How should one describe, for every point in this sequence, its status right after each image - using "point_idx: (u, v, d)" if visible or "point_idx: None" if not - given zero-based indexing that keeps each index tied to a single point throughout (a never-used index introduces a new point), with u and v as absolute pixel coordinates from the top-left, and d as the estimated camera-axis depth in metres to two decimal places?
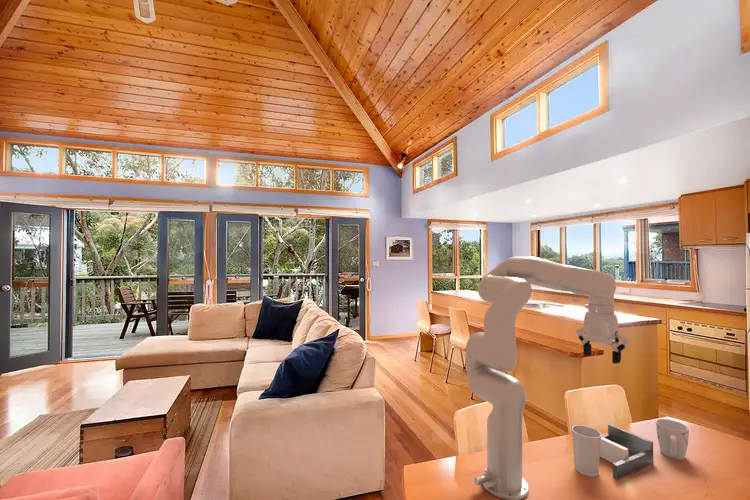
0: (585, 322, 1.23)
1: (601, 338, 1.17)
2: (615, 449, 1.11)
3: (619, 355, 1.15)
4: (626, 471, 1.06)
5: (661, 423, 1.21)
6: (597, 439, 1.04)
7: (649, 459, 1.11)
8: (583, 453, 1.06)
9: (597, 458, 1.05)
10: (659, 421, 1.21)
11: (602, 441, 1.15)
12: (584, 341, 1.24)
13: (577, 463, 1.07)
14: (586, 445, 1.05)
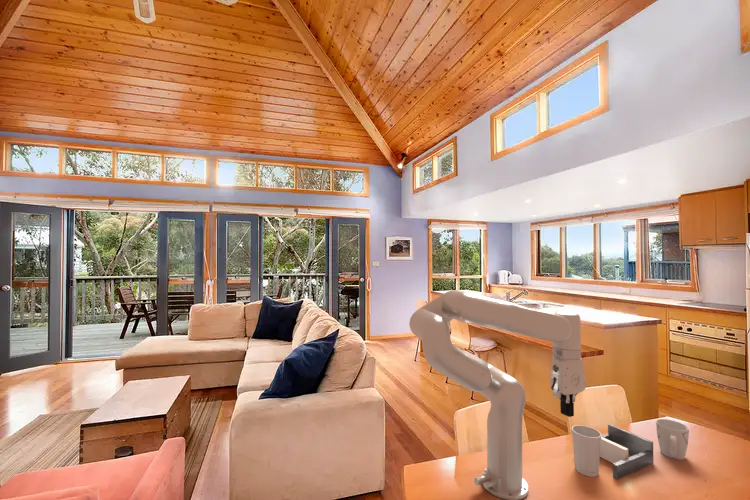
0: (566, 374, 1.01)
1: (579, 386, 1.03)
2: (615, 449, 1.11)
3: None
4: (626, 471, 1.06)
5: (661, 423, 1.21)
6: (597, 439, 1.04)
7: (649, 459, 1.11)
8: (583, 453, 1.06)
9: (597, 458, 1.05)
10: (659, 421, 1.21)
11: (602, 441, 1.15)
12: (568, 399, 1.03)
13: (577, 463, 1.07)
14: (586, 445, 1.05)
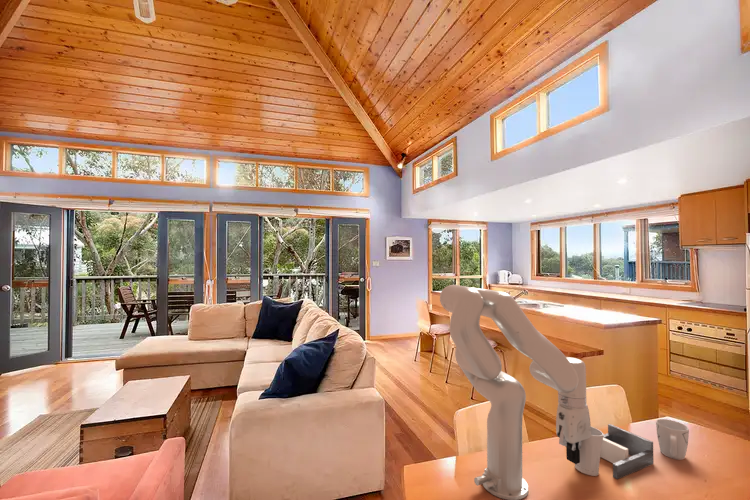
0: (571, 422, 1.02)
1: (585, 434, 1.04)
2: (615, 449, 1.11)
3: None
4: (626, 471, 1.06)
5: (661, 423, 1.21)
6: (599, 437, 1.05)
7: (649, 459, 1.11)
8: (584, 451, 1.06)
9: (598, 457, 1.05)
10: (659, 421, 1.21)
11: (602, 441, 1.15)
12: (574, 446, 1.04)
13: None
14: (588, 442, 1.05)
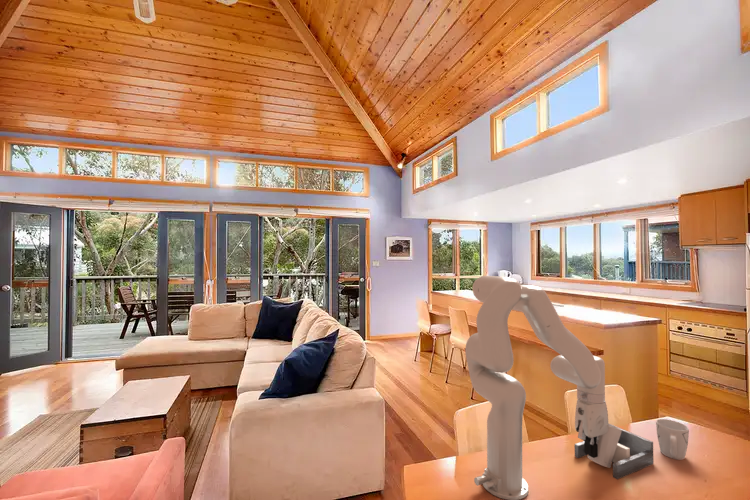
0: (591, 417, 1.05)
1: (603, 429, 1.07)
2: (617, 449, 1.11)
3: None
4: (626, 471, 1.06)
5: (661, 423, 1.21)
6: (617, 431, 1.08)
7: (649, 459, 1.11)
8: (600, 441, 1.09)
9: (613, 450, 1.08)
10: (659, 421, 1.21)
11: None
12: (592, 441, 1.07)
13: None
14: (605, 433, 1.09)
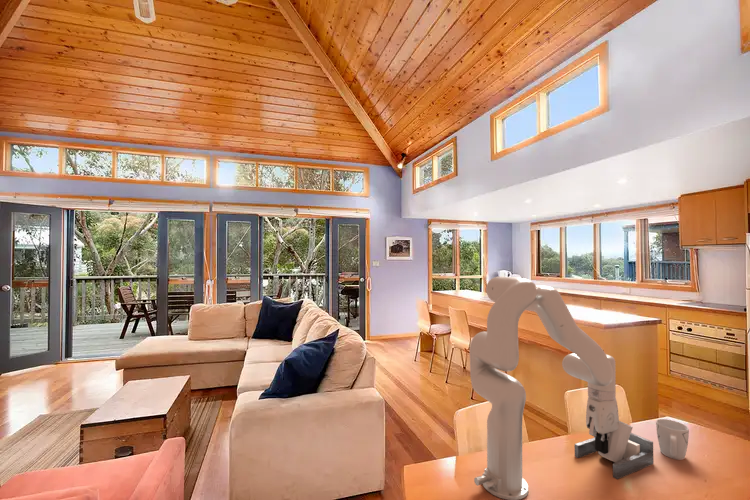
0: (602, 414, 1.08)
1: (614, 425, 1.10)
2: (627, 445, 1.13)
3: None
4: (626, 471, 1.06)
5: (661, 423, 1.21)
6: (628, 427, 1.11)
7: (649, 459, 1.11)
8: (610, 437, 1.12)
9: (623, 446, 1.10)
10: (659, 421, 1.21)
11: None
12: (603, 437, 1.10)
13: None
14: None
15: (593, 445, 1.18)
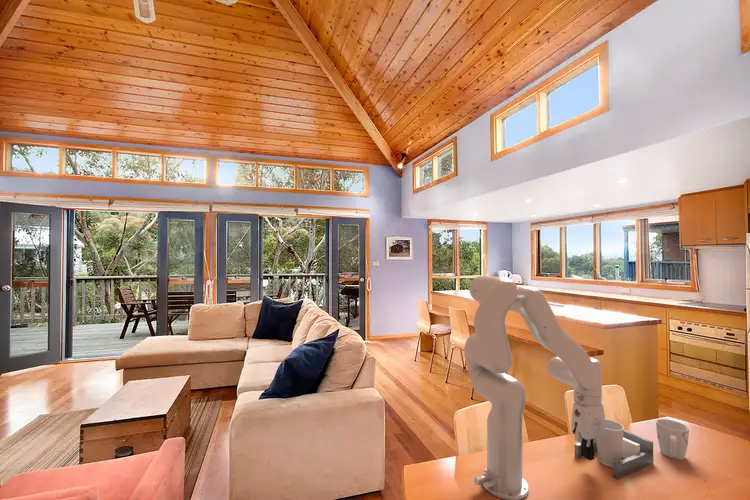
0: (587, 419, 1.05)
1: (600, 431, 1.07)
2: (627, 445, 1.14)
3: None
4: (626, 471, 1.06)
5: (661, 423, 1.21)
6: (619, 432, 1.09)
7: (649, 459, 1.11)
8: (605, 444, 1.11)
9: (619, 450, 1.10)
10: (659, 421, 1.21)
11: None
12: (588, 443, 1.07)
13: (599, 454, 1.13)
14: (608, 437, 1.10)
15: None
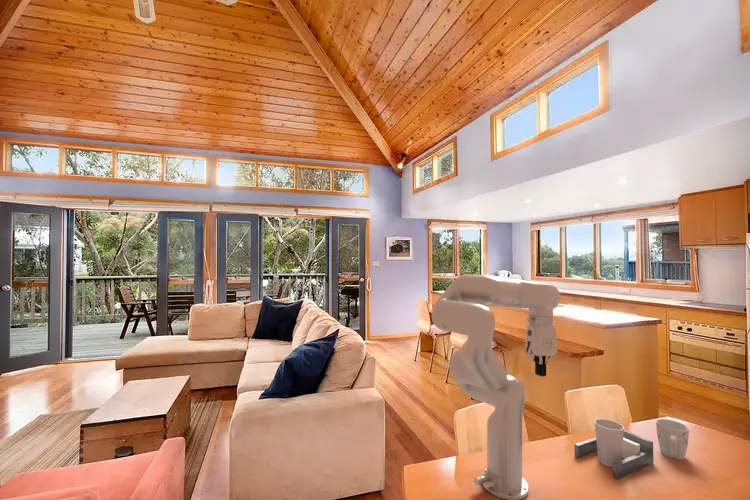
0: (538, 337, 1.14)
1: (551, 350, 1.15)
2: (627, 445, 1.14)
3: None
4: (626, 471, 1.06)
5: (661, 423, 1.21)
6: (619, 432, 1.09)
7: (649, 459, 1.11)
8: (605, 444, 1.11)
9: (619, 450, 1.10)
10: (659, 421, 1.21)
11: None
12: (540, 360, 1.16)
13: (599, 454, 1.13)
14: (608, 436, 1.10)
15: (593, 445, 1.18)
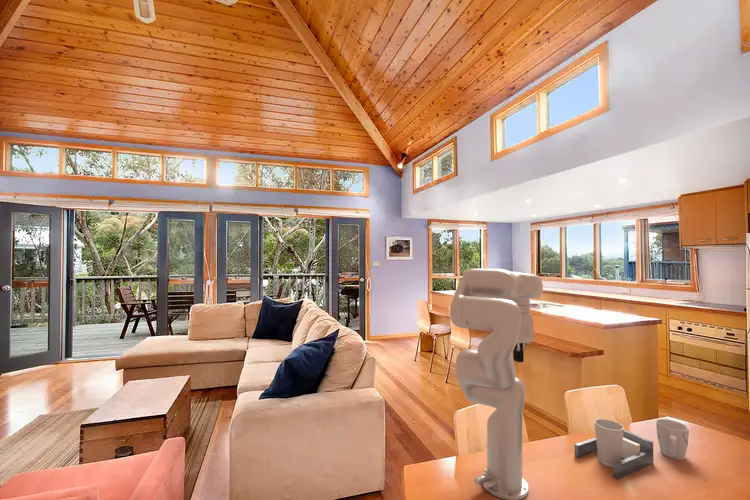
0: None
1: (528, 337, 1.22)
2: (627, 445, 1.14)
3: None
4: (626, 471, 1.06)
5: (661, 423, 1.21)
6: (619, 432, 1.09)
7: (649, 459, 1.11)
8: (605, 444, 1.11)
9: (619, 450, 1.10)
10: (659, 421, 1.21)
11: None
12: (518, 347, 1.22)
13: (599, 454, 1.13)
14: (608, 436, 1.10)
15: (593, 445, 1.18)
